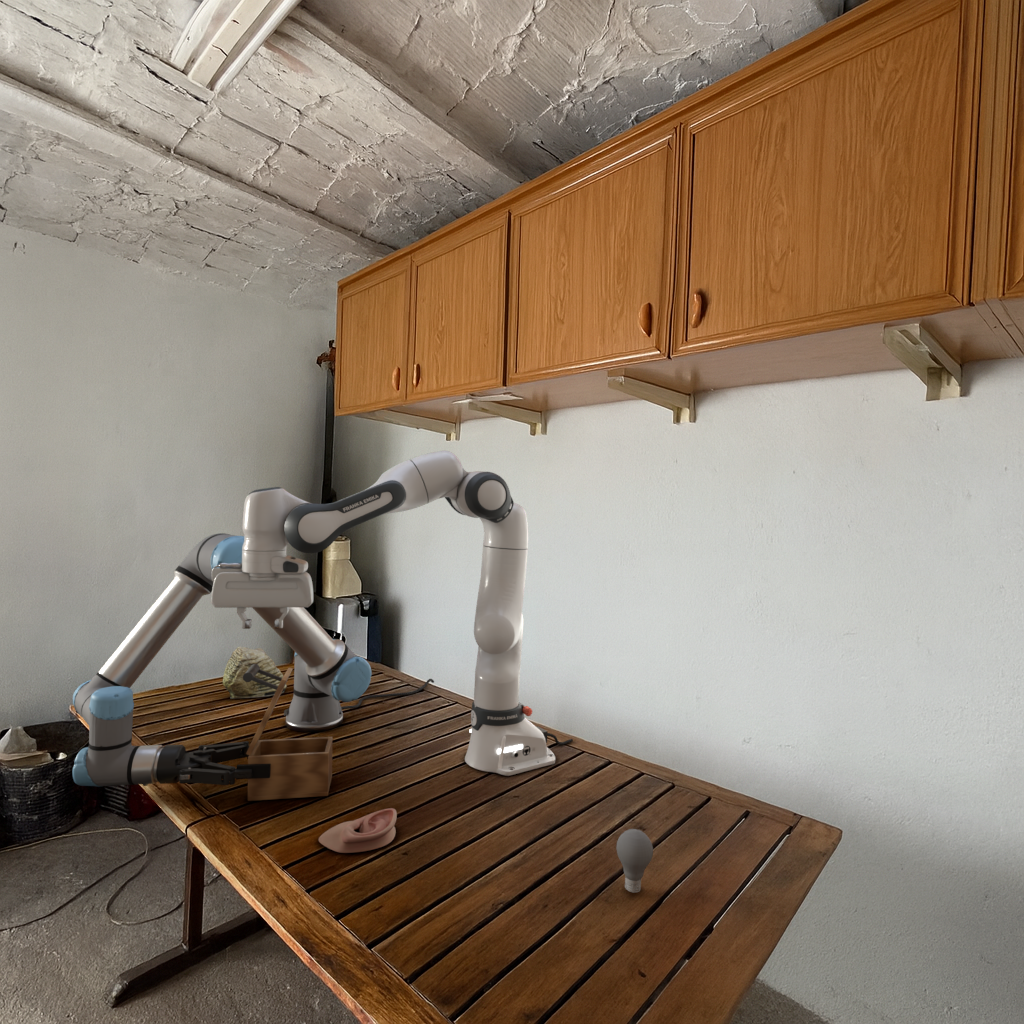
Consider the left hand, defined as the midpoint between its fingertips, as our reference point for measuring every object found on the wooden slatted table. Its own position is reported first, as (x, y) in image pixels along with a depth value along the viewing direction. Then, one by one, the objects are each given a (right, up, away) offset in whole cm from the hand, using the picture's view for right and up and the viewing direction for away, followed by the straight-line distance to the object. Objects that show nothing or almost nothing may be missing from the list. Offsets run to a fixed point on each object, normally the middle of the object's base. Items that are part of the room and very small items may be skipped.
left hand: (274, 760), depth 136 cm
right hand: (-2, +29, -1) cm, 29 cm away
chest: (+3, -6, +1) cm, 7 cm away
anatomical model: (+22, -8, -18) cm, 29 cm away
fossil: (-30, -4, +62) cm, 69 cm away
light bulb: (+71, -10, -30) cm, 78 cm away
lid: (0, +11, 0) cm, 11 cm away
